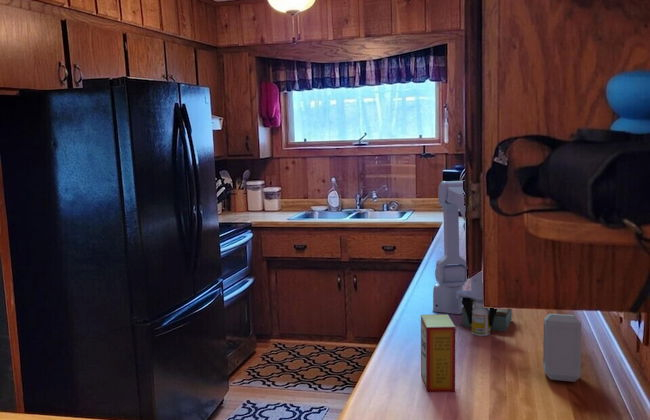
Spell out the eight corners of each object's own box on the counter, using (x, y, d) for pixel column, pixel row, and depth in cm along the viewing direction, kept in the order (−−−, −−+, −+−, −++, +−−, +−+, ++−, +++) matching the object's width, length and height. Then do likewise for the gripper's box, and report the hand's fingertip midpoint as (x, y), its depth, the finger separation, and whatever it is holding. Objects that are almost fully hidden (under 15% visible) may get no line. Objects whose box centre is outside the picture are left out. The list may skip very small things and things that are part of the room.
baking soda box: (421, 375, 146) (420, 313, 144) (447, 375, 146) (447, 312, 144) (426, 392, 136) (426, 325, 134) (455, 391, 136) (455, 325, 134)
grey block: (538, 309, 168) (545, 314, 140) (568, 311, 166) (581, 316, 137) (538, 363, 167) (545, 379, 138) (567, 365, 164) (581, 383, 136)
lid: (462, 311, 181) (462, 299, 180) (470, 301, 191) (470, 290, 190) (506, 315, 175) (506, 304, 175) (512, 305, 185) (512, 294, 185)
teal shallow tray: (462, 325, 181) (462, 311, 181) (470, 315, 191) (470, 302, 191) (505, 331, 176) (506, 316, 175) (511, 320, 186) (511, 306, 185)
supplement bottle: (483, 329, 178) (483, 298, 177) (494, 334, 173) (494, 302, 172) (467, 331, 176) (468, 300, 175) (478, 337, 171) (478, 305, 170)
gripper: (453, 280, 172) (453, 324, 174) (504, 284, 166) (503, 331, 168) (459, 274, 178) (458, 317, 180) (508, 278, 172) (507, 323, 174)
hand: (480, 323), depth 174 cm, fingers closed on supplement bottle, 5 cm apart
